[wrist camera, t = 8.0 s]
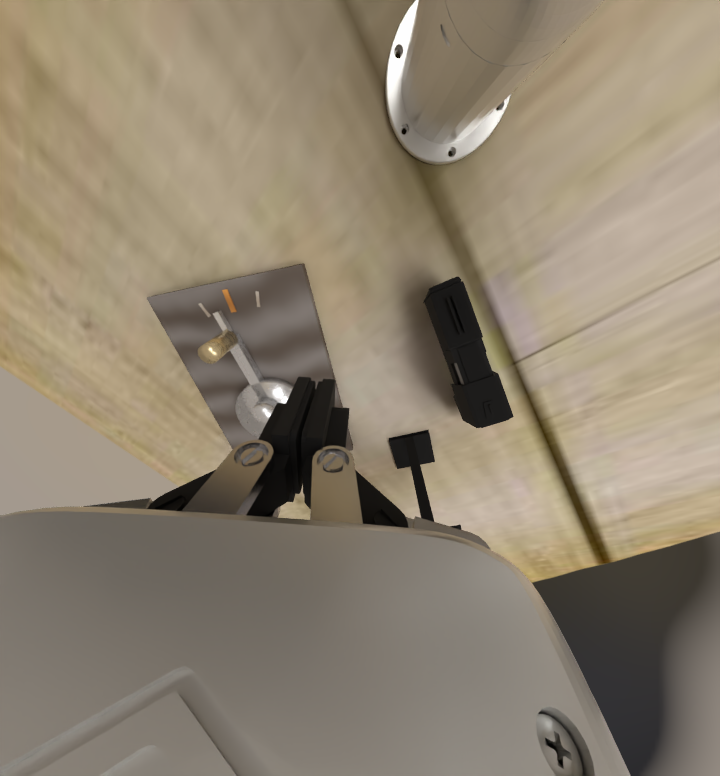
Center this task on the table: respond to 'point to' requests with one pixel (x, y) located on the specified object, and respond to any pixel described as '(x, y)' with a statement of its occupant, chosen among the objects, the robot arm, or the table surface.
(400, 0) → the table surface
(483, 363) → the toy
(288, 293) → the level board
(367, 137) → the table surface
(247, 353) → the crank handle
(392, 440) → the handbag
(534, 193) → the table surface
